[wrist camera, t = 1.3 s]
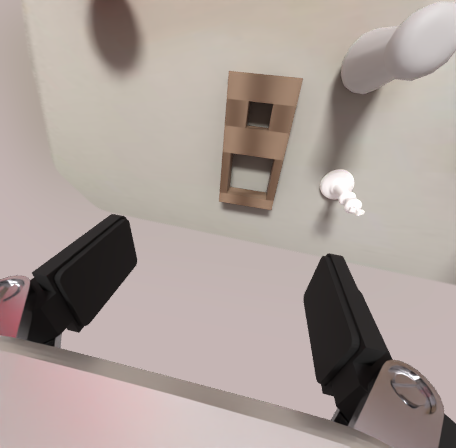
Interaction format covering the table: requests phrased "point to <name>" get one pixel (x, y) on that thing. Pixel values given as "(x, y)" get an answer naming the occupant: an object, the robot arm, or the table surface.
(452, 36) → the salt shaker
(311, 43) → the table surface
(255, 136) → the socket plate
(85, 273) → the robot arm
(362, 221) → the table surface
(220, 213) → the table surface
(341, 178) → the chess piece
